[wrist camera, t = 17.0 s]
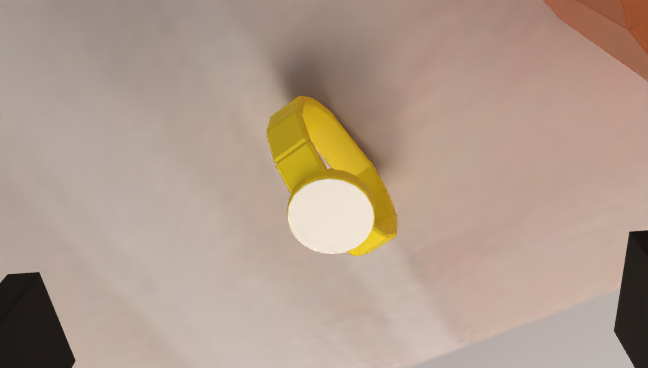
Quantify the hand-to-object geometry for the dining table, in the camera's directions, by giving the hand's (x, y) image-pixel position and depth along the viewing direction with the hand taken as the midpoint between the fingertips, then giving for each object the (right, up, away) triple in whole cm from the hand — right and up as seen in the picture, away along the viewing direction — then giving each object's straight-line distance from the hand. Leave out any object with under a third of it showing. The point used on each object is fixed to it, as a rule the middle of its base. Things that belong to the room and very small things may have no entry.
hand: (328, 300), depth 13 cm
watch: (0, +4, +10) cm, 11 cm away
